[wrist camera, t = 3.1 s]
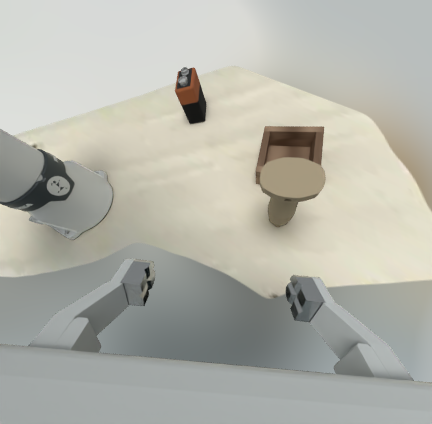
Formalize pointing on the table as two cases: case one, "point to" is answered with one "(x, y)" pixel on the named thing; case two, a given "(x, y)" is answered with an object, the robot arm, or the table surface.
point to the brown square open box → (290, 145)
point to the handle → (290, 185)
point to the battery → (191, 95)
